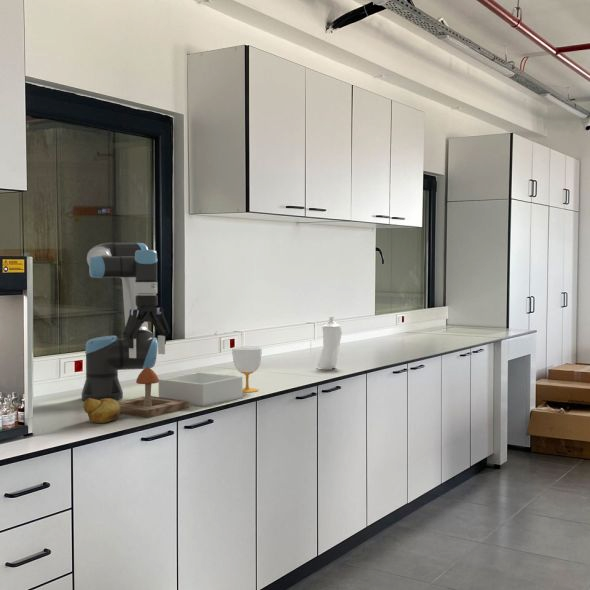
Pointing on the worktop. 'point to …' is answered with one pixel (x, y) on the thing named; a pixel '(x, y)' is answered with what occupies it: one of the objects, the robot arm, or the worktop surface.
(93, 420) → the bread roll
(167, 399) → the board
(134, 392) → the worktop surface
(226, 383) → the bin
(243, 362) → the cup
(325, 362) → the spray can
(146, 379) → the mushroom
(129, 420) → the worktop surface
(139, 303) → the robot arm
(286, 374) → the worktop surface
